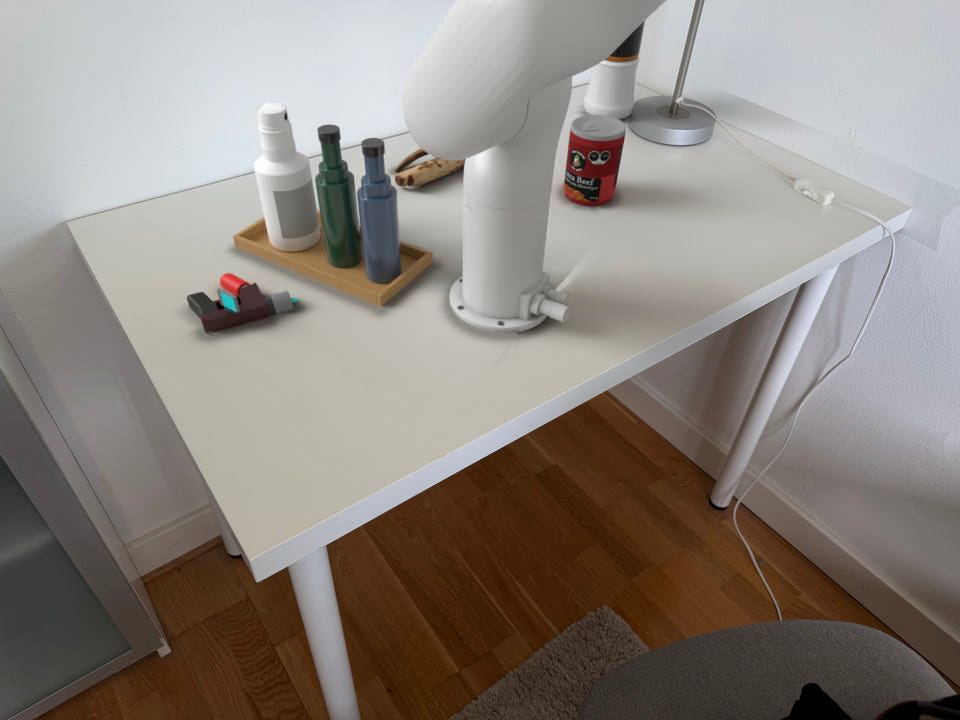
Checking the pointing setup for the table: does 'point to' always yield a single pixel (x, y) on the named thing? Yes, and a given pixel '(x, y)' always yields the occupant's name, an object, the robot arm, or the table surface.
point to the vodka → (615, 80)
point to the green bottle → (337, 202)
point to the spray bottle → (285, 184)
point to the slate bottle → (378, 217)
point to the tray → (344, 279)
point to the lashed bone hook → (424, 169)
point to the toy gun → (237, 304)
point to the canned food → (593, 159)
